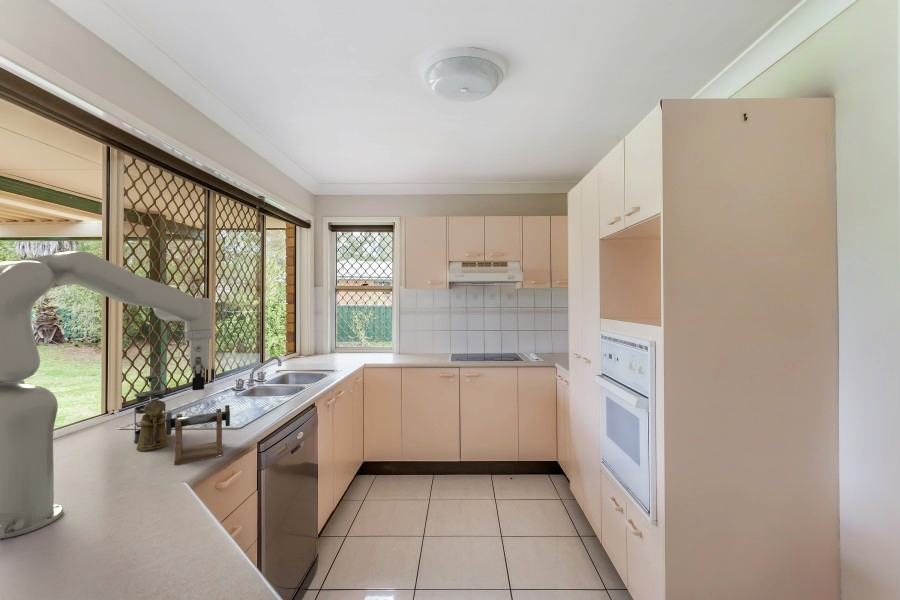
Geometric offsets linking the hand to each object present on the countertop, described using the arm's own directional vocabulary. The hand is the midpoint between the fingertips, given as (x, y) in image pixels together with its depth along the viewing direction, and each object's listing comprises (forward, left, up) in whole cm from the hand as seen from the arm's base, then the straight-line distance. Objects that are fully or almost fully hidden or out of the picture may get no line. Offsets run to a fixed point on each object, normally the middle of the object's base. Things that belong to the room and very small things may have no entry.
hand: (198, 386), depth 129 cm
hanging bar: (0, 0, -13) cm, 13 cm away
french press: (+26, +15, -23) cm, 38 cm away
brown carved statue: (+14, +13, -23) cm, 30 cm away
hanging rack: (0, 0, -22) cm, 22 cm away
